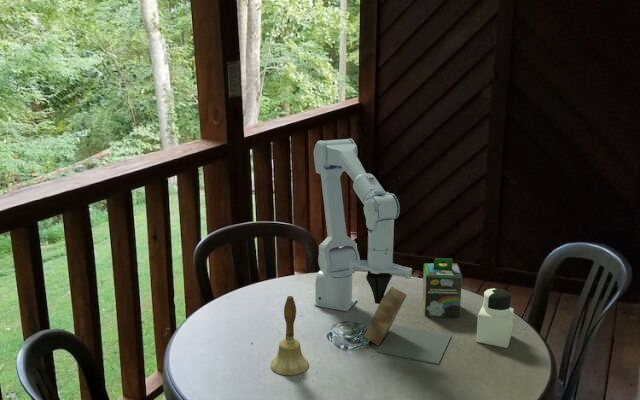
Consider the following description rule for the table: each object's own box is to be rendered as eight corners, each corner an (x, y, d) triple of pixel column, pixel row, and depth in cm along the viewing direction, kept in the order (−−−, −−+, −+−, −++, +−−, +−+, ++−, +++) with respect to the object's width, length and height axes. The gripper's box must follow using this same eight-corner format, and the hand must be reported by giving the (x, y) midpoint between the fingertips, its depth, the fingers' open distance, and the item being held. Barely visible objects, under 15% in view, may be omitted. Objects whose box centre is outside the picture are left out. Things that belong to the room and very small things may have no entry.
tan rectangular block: (363, 336, 137) (381, 298, 133) (374, 322, 144) (391, 286, 140) (378, 345, 136) (397, 307, 132) (388, 331, 143) (406, 294, 139)
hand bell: (301, 353, 132) (301, 287, 128) (314, 371, 125) (314, 301, 121) (266, 359, 129) (264, 292, 126) (276, 378, 122) (275, 307, 118)
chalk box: (456, 303, 159) (459, 251, 155) (460, 318, 150) (464, 263, 146) (421, 302, 159) (423, 250, 156) (423, 316, 151) (426, 262, 147)
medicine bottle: (511, 335, 141) (515, 288, 138) (507, 348, 134) (511, 300, 131) (481, 329, 144) (484, 283, 141) (475, 342, 137) (479, 294, 134)
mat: (376, 352, 133) (376, 350, 133) (394, 326, 145) (394, 325, 145) (438, 364, 127) (438, 363, 127) (451, 336, 140) (451, 335, 140)
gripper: (344, 248, 133) (343, 303, 137) (406, 256, 128) (404, 314, 131) (355, 239, 140) (354, 292, 143) (415, 247, 134) (412, 302, 137)
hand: (378, 302), depth 138 cm, fingers closed
